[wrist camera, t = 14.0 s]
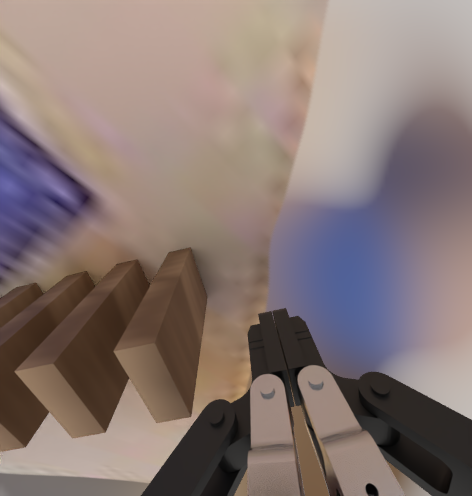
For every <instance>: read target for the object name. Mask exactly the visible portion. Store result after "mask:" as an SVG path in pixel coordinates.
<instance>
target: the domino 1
mask: <svg viewBox="0 0 472 496" xmlns="http://www.w3.org/2000/svg"><path fill="white" fill-rule="evenodd" d="M42 295H43V293H42V291H41V290H40V288H39V287H38V285H37V284H36V283H34V284H29V285H25V286H21V287H16V288H15V289H13V290H12V291H10V292H9V293H7V294H6V295H4V296H3V297H1V298H0V328H2V327H3V326H4V325H5V324H7V323H8V322H9V321H10V320H12V319H13V318H14V317H15V316H17V315H18V314H19V313H20V312H22V311H23V310H24V309H25V308H27V307H28V306H29V305H31V304H32V303H33V302H34V301H36V300H37V299H38V298H39V297H41V296H42Z"/></svg>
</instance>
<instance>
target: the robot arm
mask: <svg viewBox="0 0 472 496" xmlns="http://www.w3.org/2000/svg"><path fill="white" fill-rule="evenodd" d="M258 315H259V321H260V324H257V325H252V326H250V329H249V331H248V342H249V350H250V351H249V352H250V361H251V371H252V384H251V387H250V389H249V390H248V392H247V393H246V394H245V395H244V396H243V397H241V398H239V399H238V400H236V401H234V402H232V403H231V404H230V403H229V402H228V401H226V400H222V399H219V400H215V401H213V402H211V403H209V404H208V405H207V406H206V407H205V408H204V410H203V411H202V412H201V414H200V415H199V416H198V418H197V419H196V421H195V422H194V423H193V425H192V426H191V428H190V429H189V430H188V432H187V433H186V434H185V436H184V437H183V439H182V440H181V441H180V443H179V444H178V445H177V447H176V448H175V450H174V451H173V452H172V454H171V455H170V456H169V458H168V459H167V461H166V462H165V463H164V465H163V466H162V467H161V469H160V470H159V472H158V473H157V474H156V476H155V477H154V478H153V480H152V481H151V483H150V484H149V486H148V487H147V488H146V489H145V491H144V492H143V494H142V495H141V496H234V494H235V492H236V490H237V488H238V486H239V484H240V482H241V480H242V478H243V476H244V474H245V472H246V470H247V468H248V496H305V494H304V488H303V483H302V476H301V470H300V464H299V459H298V452H297V446H296V440H295V434H294V428H293V427H294V421H293V416H292V412H291V407H294V402H293V397H294V400H295V404H296V406H299V405H301V407H302V411H303V414H304V419H305V424H306V427H307V430H308V433H309V436H310V439H311V441H312V444H313V447H314V450H315V453H316V456H317V458H318V461H319V464H320V467H321V470H322V473H323V475H324V478H325V481H326V484H327V488H328V491H329V495H330V496H406V495H405V494H404V492H403V490H402V489H401V487H400V485H399V483H398V482H397V480H396V478H395V476H394V475H393V473H392V471H391V469H390V467H389V466H388V464H387V462H386V460H387V461H388V462H389V463H391V464H392V465H393V466H394V467H396V468H397V469H398V470H400V471H401V472H402V473H403V474H405V475H406V476H407V477H409V478H410V479H411V480H412V481H414V482H415V483H416V484H418V485H419V486H420V487H421V488H423V489H424V490H425V491H427V492H428V493H429V494H430V495H432V496H472V420H471V419H469V418H467V417H465V416H463V415H461V414H459V413H457V412H455V411H454V410H452V409H450V408H448V407H446V406H444V405H442V404H441V403H439V402H437V401H435V400H433V399H431V398H429V397H427V396H425V395H423V394H422V393H420V392H418V391H416V390H414V389H412V388H410V387H408V386H406V385H405V384H403V383H401V382H399V381H397V380H395V379H393V378H391V377H389V376H387V375H385V374H382V373H379V372H368V373H365V374H363V375H362V376H361V377H360V379H359V380H356V379H348V378H342V377H339V376H337V375H335V374H333V373H331V372H330V371H329V370H328V369H327V368H326V367H325V365H324V363H323V361H322V359H321V357H320V354H319V352H318V350H317V347H316V345H315V343H314V341H313V339H312V336H311V334H310V332H309V329H308V327H307V325H306V323H305V321H303V320H302V319H301V318H300V317H299V316H295V317H291V318H289V315H288V313H287V310H286V308H284V309H279V310H274V311H273V315H272V312H271V311H270V312H265V313H260V314H258ZM273 316H274V320H273ZM274 321H275V323H274ZM275 326H276V327H275ZM289 381H290V382H289ZM290 385H291V387H290ZM291 389H292V392H293V397H292V392H291Z"/></svg>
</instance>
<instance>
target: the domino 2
mask: <svg viewBox="0 0 472 496" xmlns="http://www.w3.org/2000/svg"><path fill="white" fill-rule="evenodd" d="M94 288H95V286H94V284H93V282H92V280H91V279H90V277H89V275H88V273H87V272H82V273H77V274H73V275H69V276H66V277H65V278H63V279H62V280H61V281H60V282H58V283H57V284H56V285H55V286H53V287H52V288H51V289H49V290H48V291H47V292H46V293H44V294H43V295H42V296H41V297H39V298H38V299H37V300H36V301H34V302H33V303H32V304H31V305H29V306H28V307H27V308H25V309H24V310H23V311H22V312H20V313H19V314H18V315H17V316H15V317H14V318H13V319H12V320H10V321H9V322H8V323H7V324H5V325H4V326H3V327H2V328H0V452H3V451H8V450H13V449H19V448H24V447H26V446H27V444H28V443H29V441H30V440H31V438H32V437H33V435H34V434H35V432H36V431H37V429H38V428H39V427H40V425H41V424H42V422H43V421H44V419H45V418H46V416H47V415H48V413H49V411H48V410H47V409H46V407H45V406H44V405H43V404H42V403H41V402H40V401H39V399H38V398H37V397H36V396H35V395H34V394H33V393H32V391H31V390H30V389H29V388H28V387H27V386H26V385H25V383H24V382H23V381H22V380H21V379H20V378H19V376H18V375H17V374H16V373H15V372H14V371H15V370H16V369H17V368H18V367H19V366H20V365H21V364H22V363H23V362H24V361H25V360H26V359H27V358H28V357H29V355H30V354H31V353H32V352H33V351H34V350H35V349H36V348H37V347H38V346H39V345H40V344H41V343H42V342H43V341H44V340H45V339H46V338H47V337H48V336H49V335H50V334H51V332H52V331H53V330H54V329H55V328H56V327H57V326H58V325H59V324H60V323H61V322H62V321H63V320H64V319H65V318H66V317H67V316H68V315H69V314H70V313H71V312H72V311H73V310H74V308H75V307H76V306H77V305H78V304H79V303H80V302H81V301H82V300H83V299H84V298H85V297H86V296H87V295H88V294H89V293H90V292H91V291H92V290H93V289H94Z"/></svg>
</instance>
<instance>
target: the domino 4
mask: <svg viewBox="0 0 472 496" xmlns="http://www.w3.org/2000/svg"><path fill="white" fill-rule="evenodd" d="M206 304H207V295H206V292H205V289H204V286H203V283H202V280H201V277H200V274H199V271H198V268H197V266H196V263H195V260H194V257H193V254H192V251H191V248H186V249H182V250H177V251H173V252H169V253H168V255H167V257H166V259H165V260H164V262H163V264H162V266H161V268H160V269H159V271H158V273H157V275H156V276H155V278H154V280H153V282H152V284H151V285H150V287H149V289H148V291H147V292H146V294H145V296H144V298H143V300H142V301H141V303H140V305H139V307H138V308H137V310H136V312H135V314H134V316H133V317H132V319H131V321H130V323H129V325H128V326H127V328H126V330H125V332H124V333H123V335H122V337H121V339H120V341H119V342H118V344H117V346H116V348H115V349H114V351H113V352H114V353H115V355H116V357H117V358H118V360H119V362H120V363H121V365H122V367H123V368H124V370H125V372H126V373H127V375H128V377H129V378H130V380H131V382H132V383H133V385H134V386H135V388H136V390H137V391H138V393H139V395H140V396H141V398H142V400H143V401H144V403H145V405H146V406H147V408H148V410H149V411H150V413H151V415H152V416H153V418H154V420H155V421H156V423H160V422H166V421H171V420H176V419H182V418H187V417H191V414H192V407H193V400H194V392H195V385H196V378H197V370H198V363H199V356H200V348H201V341H202V334H203V326H204V319H205V312H206Z"/></svg>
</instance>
